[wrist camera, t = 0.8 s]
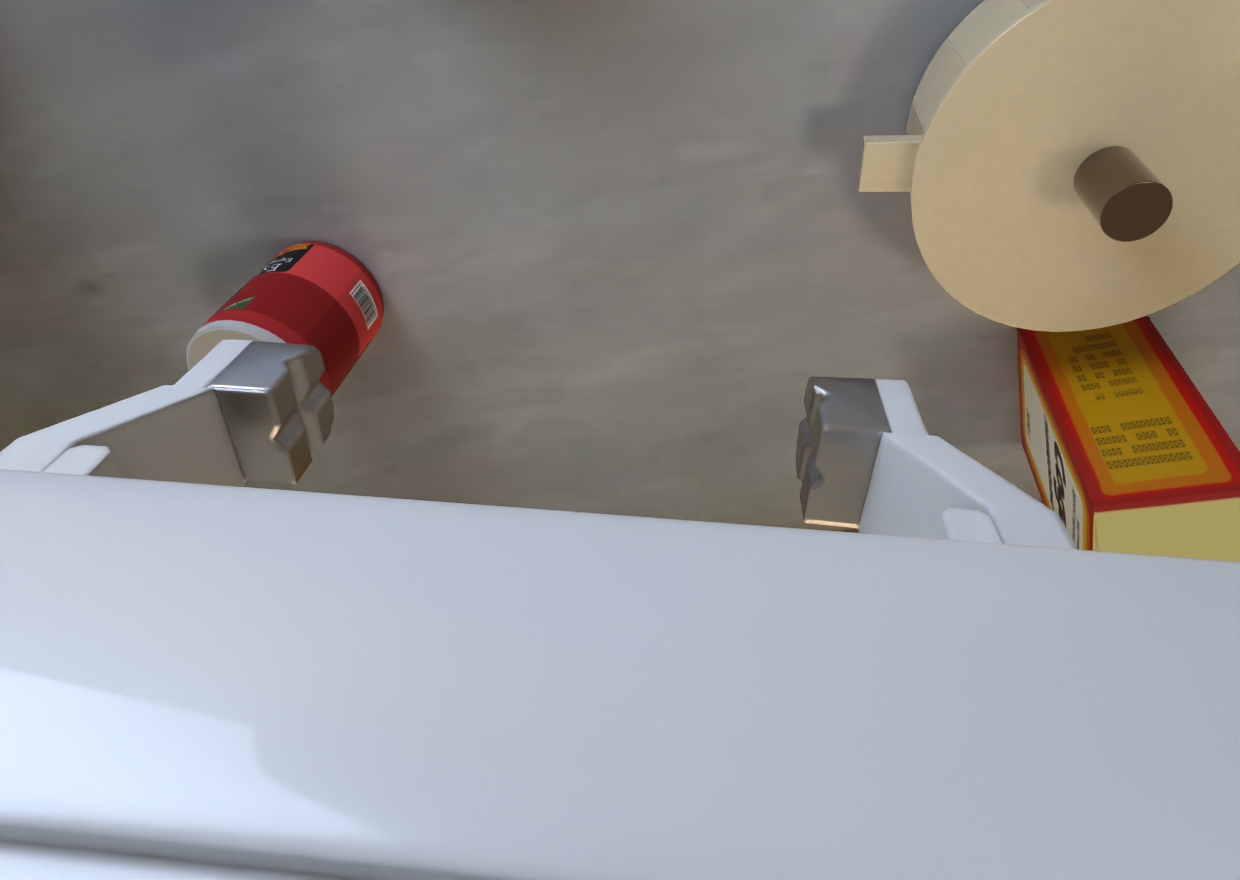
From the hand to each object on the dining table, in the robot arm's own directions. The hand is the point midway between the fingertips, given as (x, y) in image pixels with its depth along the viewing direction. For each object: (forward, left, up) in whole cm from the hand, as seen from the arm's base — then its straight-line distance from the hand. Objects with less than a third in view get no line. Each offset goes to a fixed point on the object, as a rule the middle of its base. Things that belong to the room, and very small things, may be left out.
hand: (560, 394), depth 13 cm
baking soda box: (+3, +32, -34) cm, 47 cm away
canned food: (+30, -9, -34) cm, 46 cm away
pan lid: (-6, +18, -28) cm, 34 cm away
